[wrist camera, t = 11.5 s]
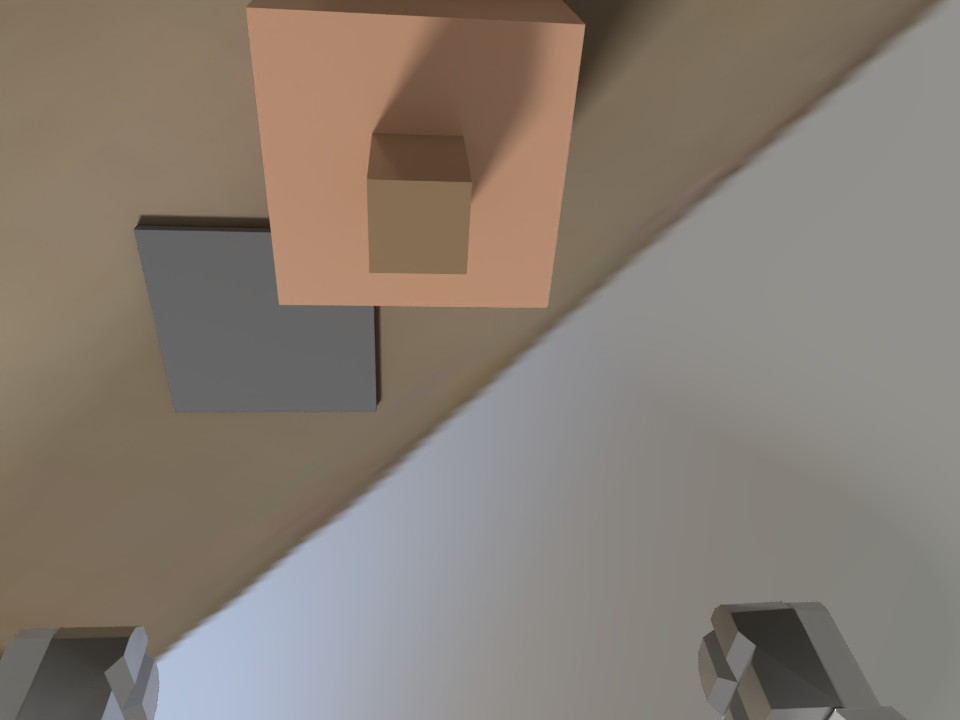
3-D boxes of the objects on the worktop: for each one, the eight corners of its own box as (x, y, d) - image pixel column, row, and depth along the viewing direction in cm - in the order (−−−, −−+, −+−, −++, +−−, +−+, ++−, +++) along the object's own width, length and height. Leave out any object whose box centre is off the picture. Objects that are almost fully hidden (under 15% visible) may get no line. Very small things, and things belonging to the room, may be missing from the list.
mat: (177, 406, 43) (175, 412, 43) (136, 225, 37) (133, 229, 36) (376, 406, 44) (376, 411, 44) (372, 230, 38) (372, 234, 37)
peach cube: (309, 191, 36) (261, 367, 24) (292, -43, 30) (217, 37, 18) (514, 196, 37) (565, 368, 25) (535, -29, 31) (614, 56, 19)
